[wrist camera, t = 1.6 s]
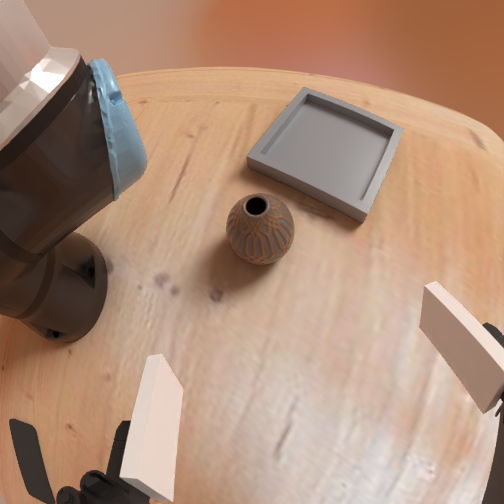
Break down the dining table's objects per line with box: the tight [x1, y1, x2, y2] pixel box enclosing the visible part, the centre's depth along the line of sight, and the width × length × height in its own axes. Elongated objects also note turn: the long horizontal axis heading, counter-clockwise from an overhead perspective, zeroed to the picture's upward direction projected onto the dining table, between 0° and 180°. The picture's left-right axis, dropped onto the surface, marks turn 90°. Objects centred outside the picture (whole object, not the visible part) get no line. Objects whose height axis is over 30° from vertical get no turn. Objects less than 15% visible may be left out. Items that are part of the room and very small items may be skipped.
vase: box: [226, 193, 294, 265], centre depth 29 cm, size 7×7×9 cm
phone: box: [9, 419, 55, 504], centre depth 25 cm, size 7×1×15 cm
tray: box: [247, 87, 404, 223], centre depth 36 cm, size 16×16×2 cm
